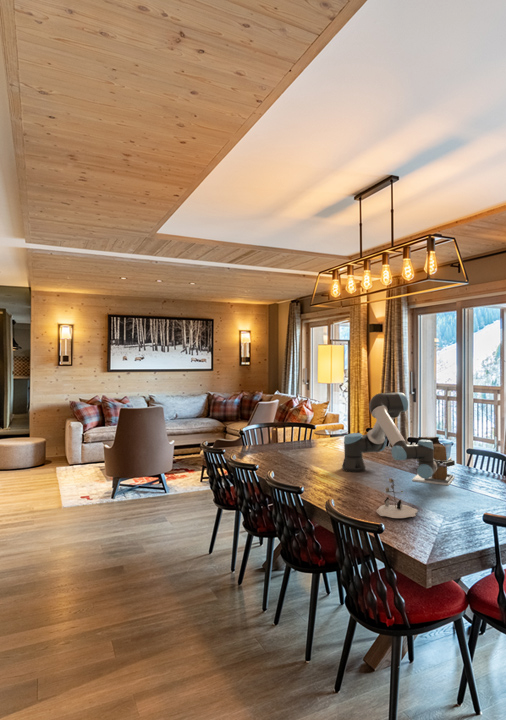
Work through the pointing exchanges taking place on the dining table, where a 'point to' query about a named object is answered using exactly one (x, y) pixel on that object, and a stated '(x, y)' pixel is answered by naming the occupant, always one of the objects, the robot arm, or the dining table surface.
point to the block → (440, 454)
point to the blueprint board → (434, 480)
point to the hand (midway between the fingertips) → (438, 458)
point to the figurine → (395, 507)
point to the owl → (433, 439)
